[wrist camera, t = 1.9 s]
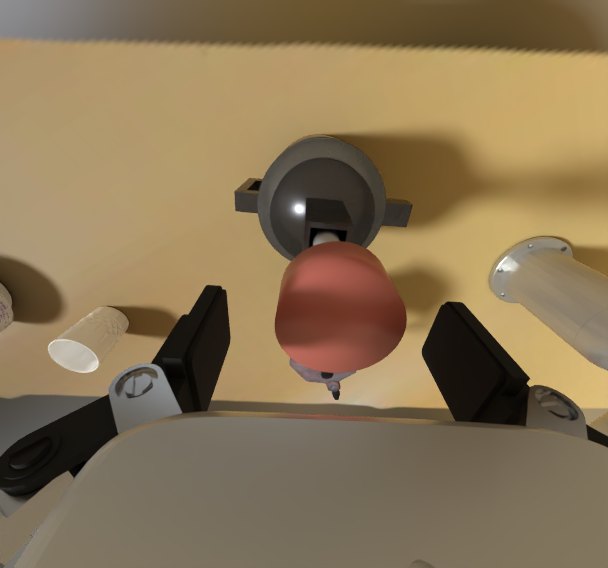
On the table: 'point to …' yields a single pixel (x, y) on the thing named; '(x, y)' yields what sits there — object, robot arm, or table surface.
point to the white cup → (89, 340)
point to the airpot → (320, 196)
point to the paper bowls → (5, 308)
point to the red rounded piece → (338, 307)
